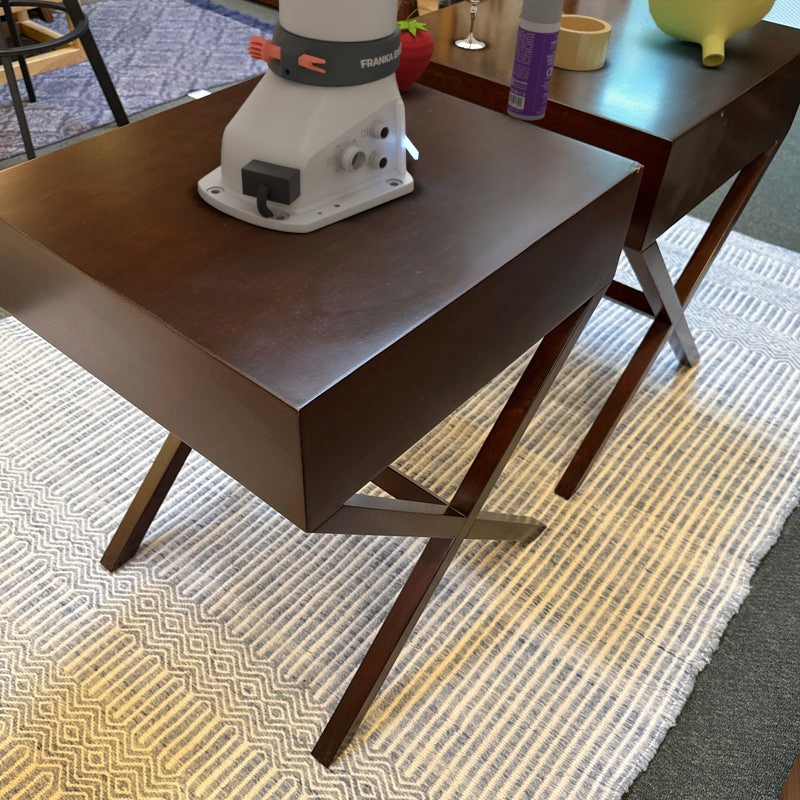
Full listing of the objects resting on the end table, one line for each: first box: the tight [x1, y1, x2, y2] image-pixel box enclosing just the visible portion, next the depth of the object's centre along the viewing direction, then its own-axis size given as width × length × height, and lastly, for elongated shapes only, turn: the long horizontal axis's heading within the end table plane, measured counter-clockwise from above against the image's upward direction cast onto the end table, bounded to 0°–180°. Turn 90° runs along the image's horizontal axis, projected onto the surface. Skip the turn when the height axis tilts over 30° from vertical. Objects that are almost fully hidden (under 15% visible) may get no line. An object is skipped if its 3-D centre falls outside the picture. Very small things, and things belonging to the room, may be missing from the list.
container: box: [506, 0, 564, 121], centre depth 99 cm, size 5×5×15 cm
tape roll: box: [553, 14, 613, 72], centre depth 120 cm, size 9×9×5 cm
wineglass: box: [454, 0, 489, 50], centre depth 120 cm, size 6×6×12 cm
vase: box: [647, 0, 777, 67], centre depth 124 cm, size 18×18×19 cm
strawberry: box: [395, 8, 435, 92], centre depth 104 cm, size 6×8×10 cm
